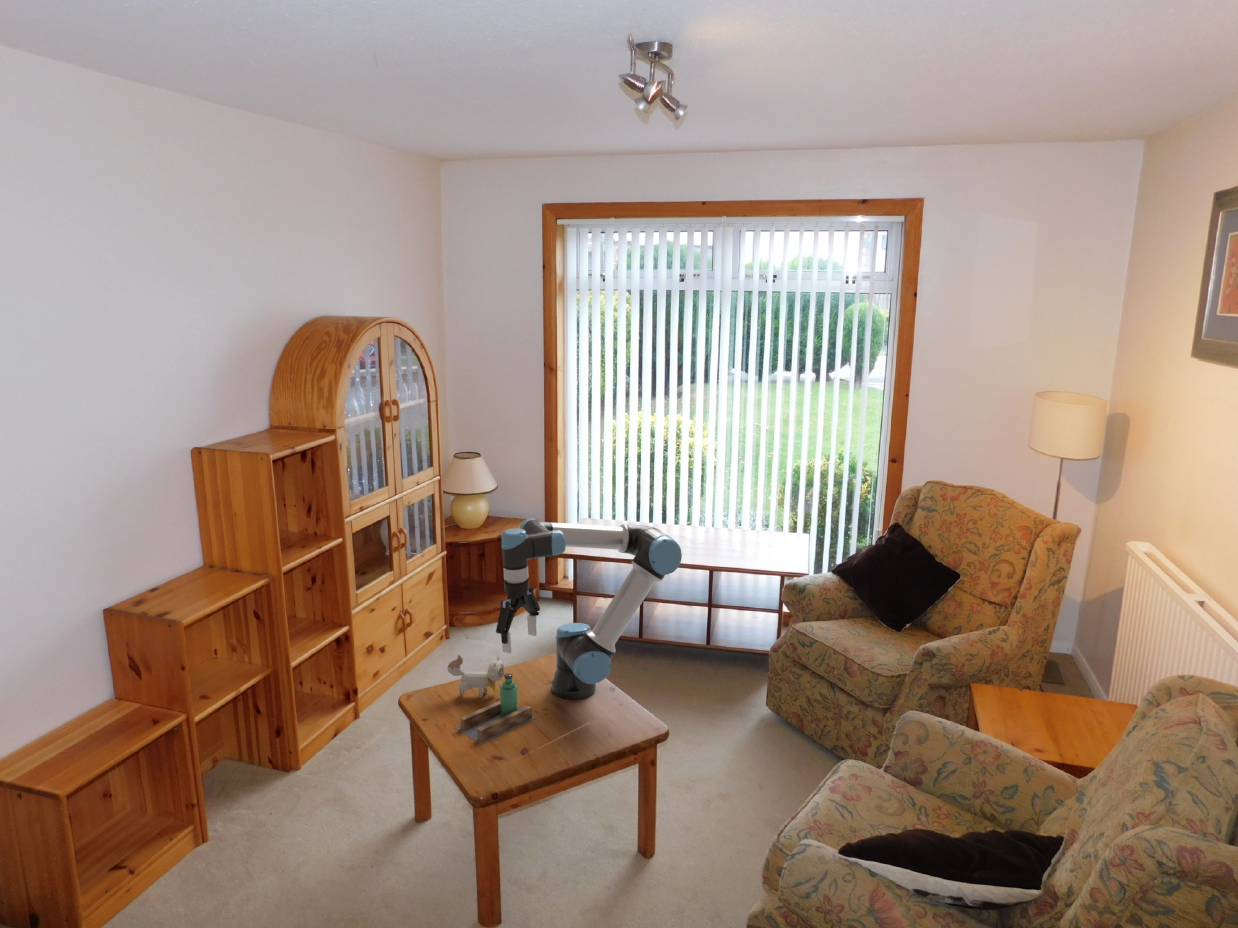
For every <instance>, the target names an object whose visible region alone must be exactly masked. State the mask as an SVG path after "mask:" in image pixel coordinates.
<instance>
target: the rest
mask: <svg viewBox="0 0 1238 928" xmlns="http://www.w3.org/2000/svg"><path fill="white" fill-rule="evenodd" d="M500 714H501V705H500V700H498V701H495V702H494V703H491V704H489V705H487V706H485V707H482V708H480V709H478V710H476V711H473V712H470V713H469V714H466V715H464V716H461V717H460V718H459V721H460V722H459V724H460V726H461V729H462V730H466V729H469V728H471V727H473V726H475V725H477V724H480V723H482V722H484V721H486V720H489V719H491V718H493V717H495V716H498V715H500ZM532 715H533V707H532V706H530V705H525V706H524V707H522V708H520V709H519V710H517V711H515V712H512V713H510V714H508V715H506V716H504V717H501V718H499V719H497V720H495V721H492V722H490V723H488V724H486V725H484V726H481V727H479V728H477V739H478V740H480V741H483V740H485V739H487V738H489V737H492V736H494V735H496V734H498V733H500V732H502V731H504V730H507V729H509V728H511V727H513V726H515V725H517V724H519V723H522V722H524V721H526V720H528V719H530V718H532Z"/></svg>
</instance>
